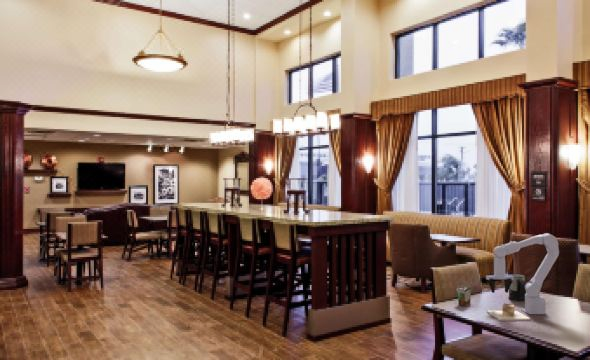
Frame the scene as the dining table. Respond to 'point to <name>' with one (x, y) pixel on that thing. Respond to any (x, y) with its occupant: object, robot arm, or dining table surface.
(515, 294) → the milk frother
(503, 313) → the oak cube
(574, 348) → the dining table surface
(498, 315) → the painted board
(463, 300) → the food container
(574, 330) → the dining table surface
